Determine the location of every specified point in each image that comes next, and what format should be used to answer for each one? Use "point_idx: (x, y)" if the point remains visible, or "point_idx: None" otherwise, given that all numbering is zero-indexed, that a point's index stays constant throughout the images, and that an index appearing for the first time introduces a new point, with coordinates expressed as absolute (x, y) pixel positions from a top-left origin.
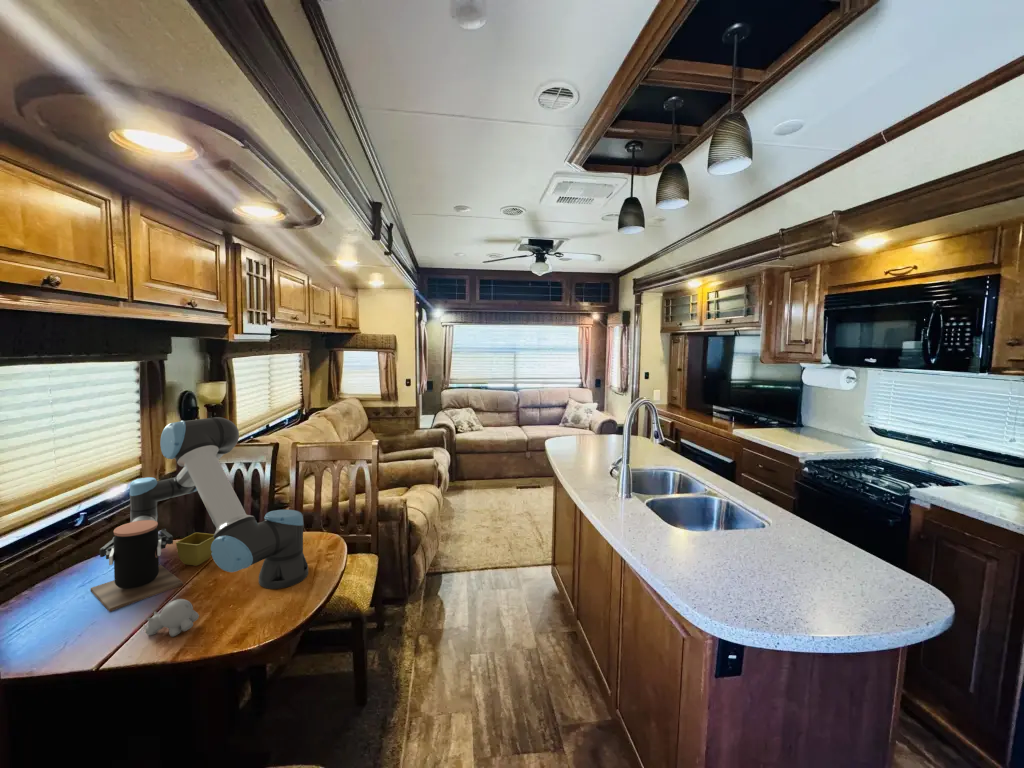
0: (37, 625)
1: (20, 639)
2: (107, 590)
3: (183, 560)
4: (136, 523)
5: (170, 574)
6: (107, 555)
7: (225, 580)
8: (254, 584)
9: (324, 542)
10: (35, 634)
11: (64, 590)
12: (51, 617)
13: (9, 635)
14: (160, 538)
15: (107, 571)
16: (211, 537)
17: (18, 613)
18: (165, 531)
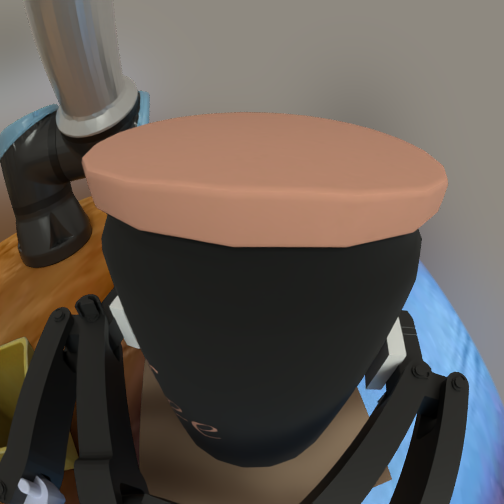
0: (445, 348)
1: (446, 314)
2: (342, 430)
3: (75, 451)
4: (252, 147)
5: (146, 409)
6: (401, 313)
7: (91, 290)
8: (86, 249)
9: None
10: (432, 317)
11: None
12: (435, 368)
13: (469, 336)
14: (99, 334)
15: None
16: None
17: (497, 418)
18: (13, 432)
